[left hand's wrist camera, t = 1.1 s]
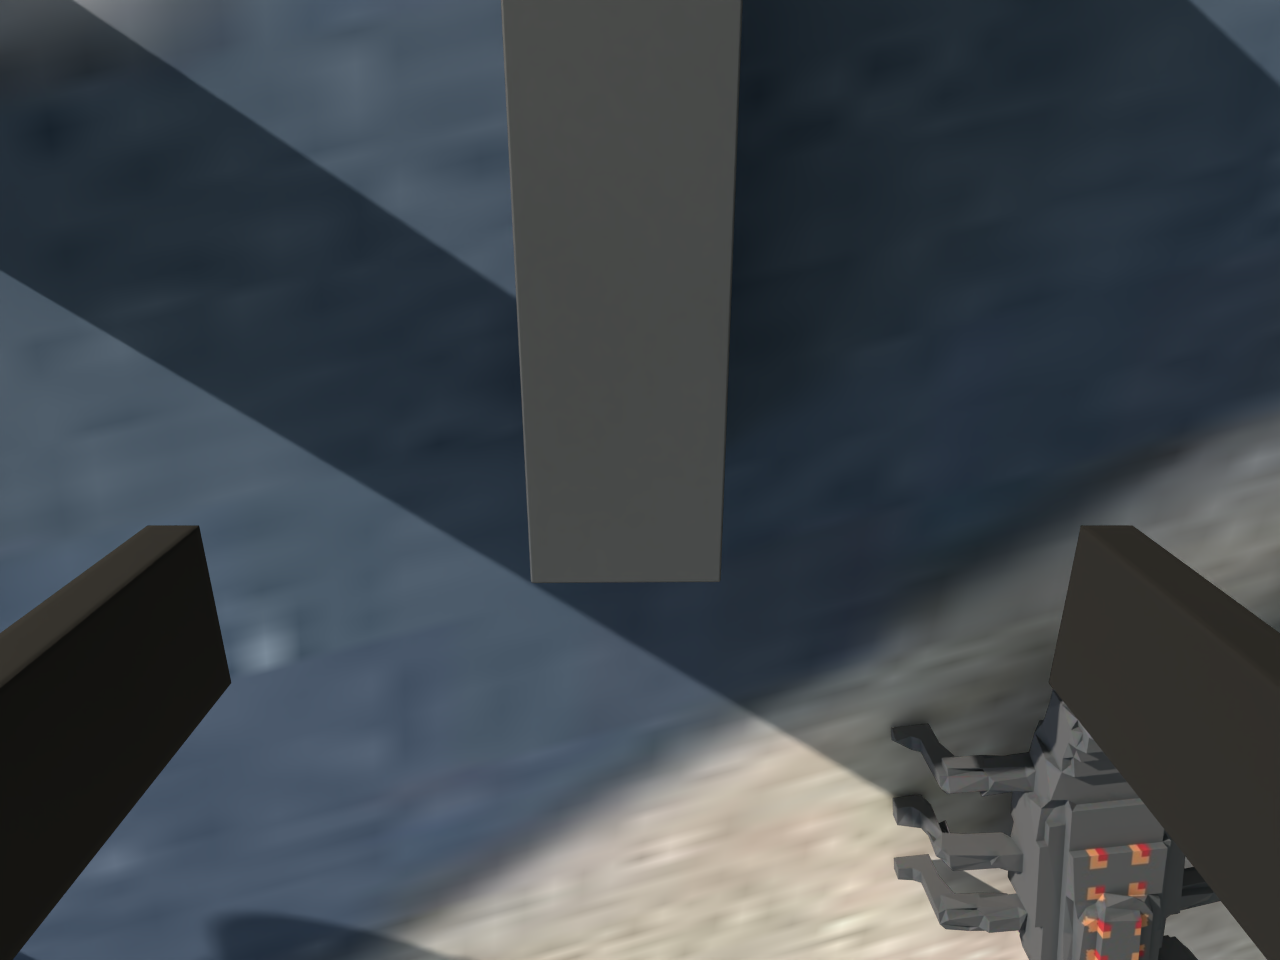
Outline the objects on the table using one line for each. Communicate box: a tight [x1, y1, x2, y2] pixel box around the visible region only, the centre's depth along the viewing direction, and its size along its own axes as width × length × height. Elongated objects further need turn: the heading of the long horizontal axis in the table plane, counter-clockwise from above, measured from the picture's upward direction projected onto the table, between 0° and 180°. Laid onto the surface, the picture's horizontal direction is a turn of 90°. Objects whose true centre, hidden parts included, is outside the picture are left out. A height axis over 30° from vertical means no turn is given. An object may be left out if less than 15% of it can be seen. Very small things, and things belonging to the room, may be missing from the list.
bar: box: [501, 0, 743, 583], centre depth 21 cm, size 24×5×8 cm, turn 0°
